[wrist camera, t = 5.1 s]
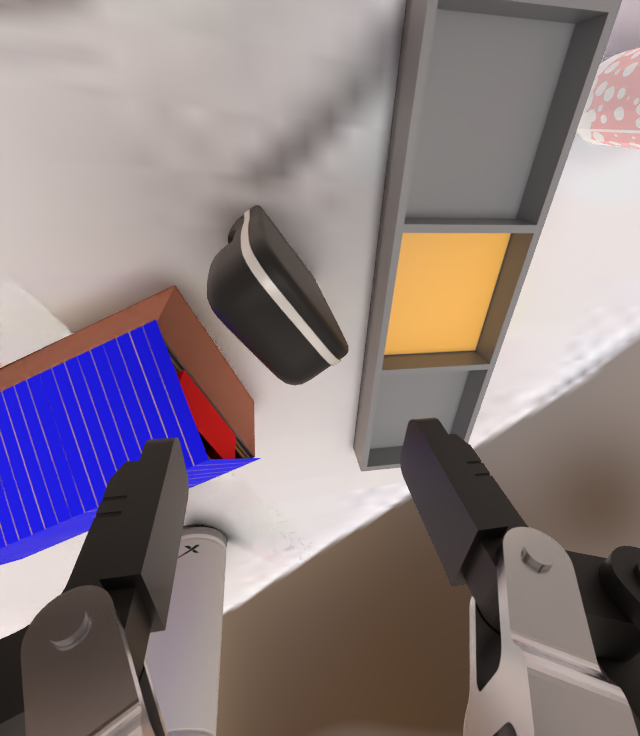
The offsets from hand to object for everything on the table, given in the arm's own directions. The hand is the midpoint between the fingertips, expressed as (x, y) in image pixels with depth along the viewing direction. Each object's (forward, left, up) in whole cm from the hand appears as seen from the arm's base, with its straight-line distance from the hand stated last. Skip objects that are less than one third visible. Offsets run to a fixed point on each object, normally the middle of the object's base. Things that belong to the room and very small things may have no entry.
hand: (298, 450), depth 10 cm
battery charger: (0, 0, -18) cm, 18 cm away
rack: (+2, +12, -17) cm, 22 cm away
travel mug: (+30, -9, -18) cm, 36 cm away
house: (+10, -13, -18) cm, 24 cm away
